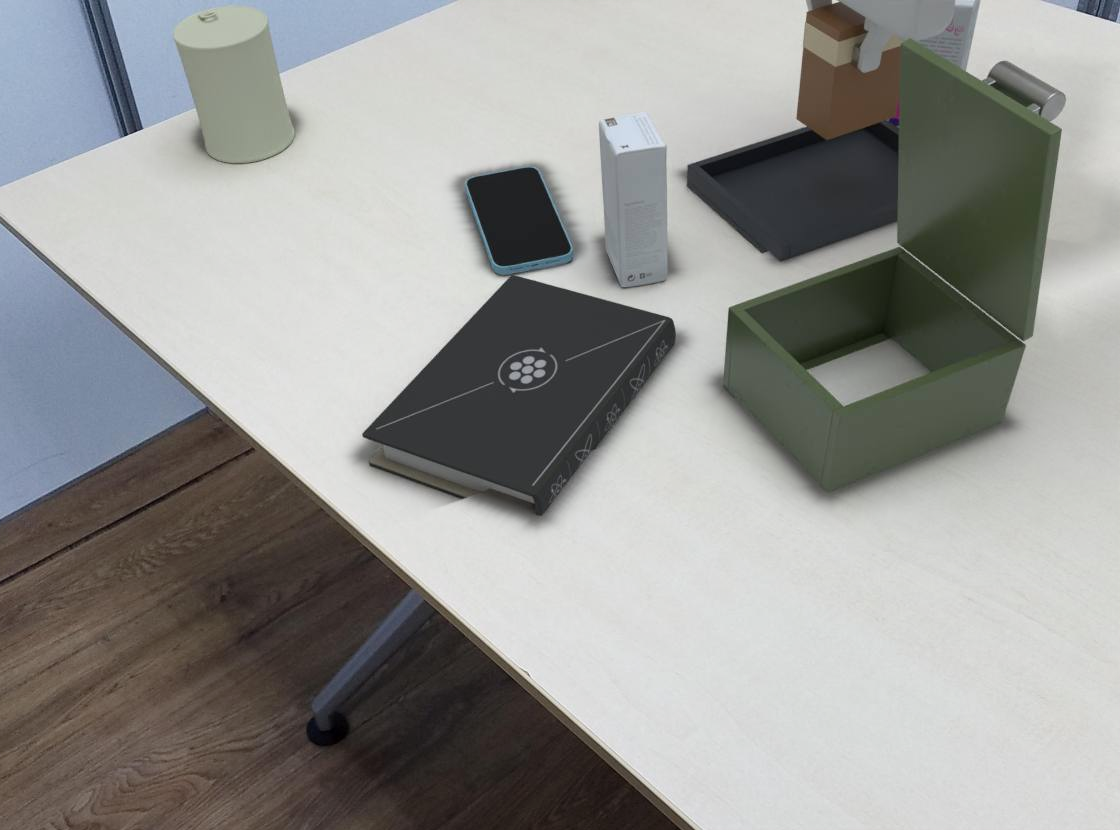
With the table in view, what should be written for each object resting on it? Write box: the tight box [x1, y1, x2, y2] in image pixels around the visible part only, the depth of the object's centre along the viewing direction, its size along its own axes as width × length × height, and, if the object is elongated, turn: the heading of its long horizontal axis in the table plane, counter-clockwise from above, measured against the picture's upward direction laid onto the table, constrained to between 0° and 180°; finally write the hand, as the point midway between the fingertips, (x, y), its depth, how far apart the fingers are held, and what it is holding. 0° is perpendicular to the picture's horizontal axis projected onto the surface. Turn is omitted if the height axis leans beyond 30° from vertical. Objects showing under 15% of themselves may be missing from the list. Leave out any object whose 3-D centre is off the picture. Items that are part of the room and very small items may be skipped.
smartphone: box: [464, 166, 574, 276], centre depth 105 cm, size 7×1×15 cm
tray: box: [686, 120, 899, 262], centre depth 104 cm, size 20×16×2 cm
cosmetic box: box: [598, 111, 669, 288], centre depth 95 cm, size 6×4×12 cm
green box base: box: [722, 246, 1027, 493], centre depth 83 cm, size 15×14×8 cm
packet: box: [796, 1, 904, 140], centre depth 97 cm, size 7×5×9 cm, turn 115°
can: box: [172, 5, 296, 164], centre depth 115 cm, size 9×9×12 cm
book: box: [361, 274, 677, 516], centre depth 88 cm, size 22×15×3 cm
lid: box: [896, 38, 1067, 342], centre depth 75 cm, size 16×14×5 cm
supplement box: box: [888, 0, 981, 126], centre depth 108 cm, size 6×6×12 cm
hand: (842, 53), depth 95 cm, fingers closed on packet, 4 cm apart
